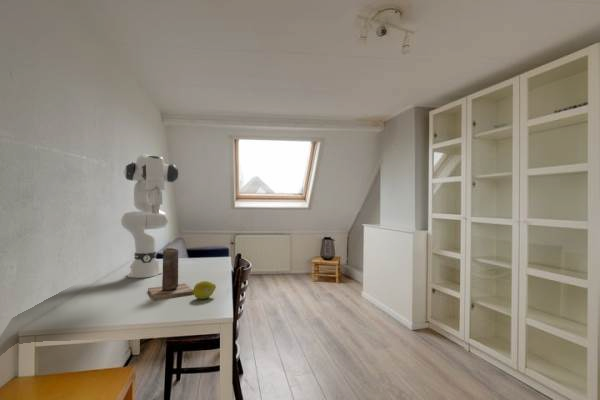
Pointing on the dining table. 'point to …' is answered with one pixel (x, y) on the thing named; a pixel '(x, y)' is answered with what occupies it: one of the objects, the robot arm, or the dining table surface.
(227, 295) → the dining table surface
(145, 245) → the robot arm
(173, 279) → the wooden log
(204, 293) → the lemon
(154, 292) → the walnut board
